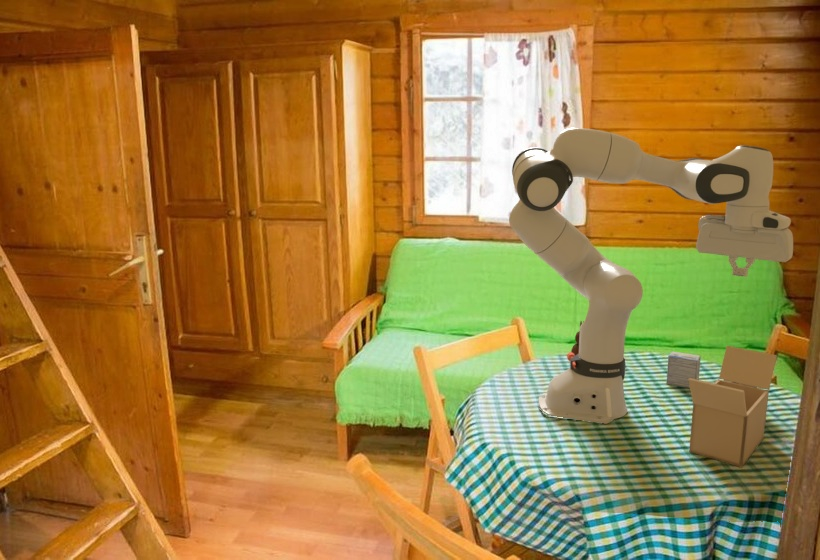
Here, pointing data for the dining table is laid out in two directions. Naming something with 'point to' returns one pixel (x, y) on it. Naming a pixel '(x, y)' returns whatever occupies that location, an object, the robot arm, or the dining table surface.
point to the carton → (730, 428)
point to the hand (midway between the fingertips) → (739, 275)
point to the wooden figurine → (576, 347)
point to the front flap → (718, 397)
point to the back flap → (748, 367)
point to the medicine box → (682, 368)
